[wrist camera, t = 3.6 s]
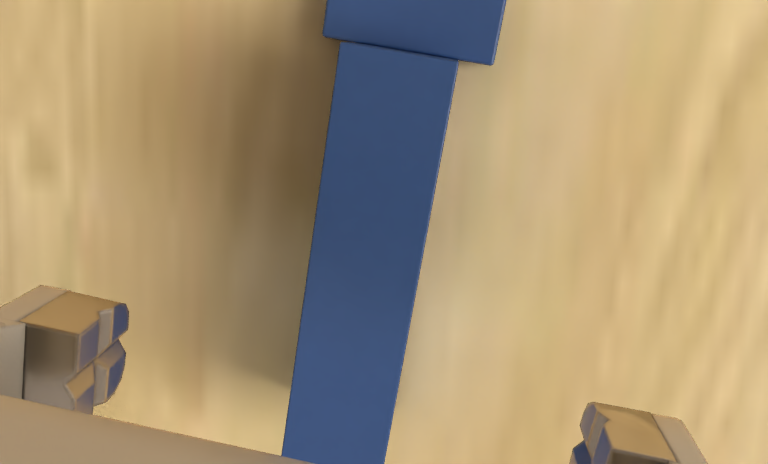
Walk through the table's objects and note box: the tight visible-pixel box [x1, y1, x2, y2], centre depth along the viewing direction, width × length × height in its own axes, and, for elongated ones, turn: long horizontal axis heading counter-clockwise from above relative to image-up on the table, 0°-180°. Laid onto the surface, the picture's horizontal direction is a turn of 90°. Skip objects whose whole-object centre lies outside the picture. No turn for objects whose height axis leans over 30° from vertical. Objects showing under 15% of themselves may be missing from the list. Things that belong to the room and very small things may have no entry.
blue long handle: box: [281, 0, 506, 464], centre depth 20 cm, size 19×5×4 cm, turn 171°
